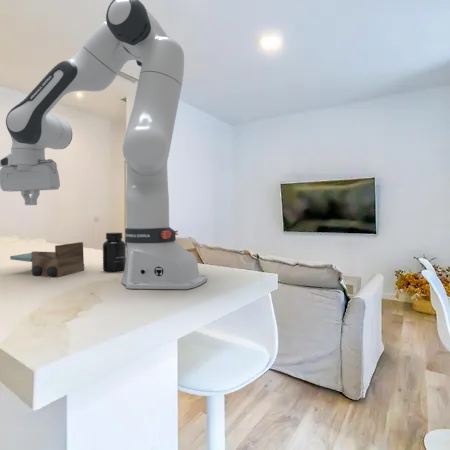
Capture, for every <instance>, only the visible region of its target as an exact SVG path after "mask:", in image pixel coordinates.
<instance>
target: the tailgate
mask: <svg viewBox="0 0 450 450" xmlns="http://www.w3.org/2000/svg"><path fill="white" fill-rule="evenodd" d="M9 259H10V260H11V261H12V260H13V261H21V262H28V263H29V262H30V263H32V252H29V253H24V254H16V255H15V254H14V255H10V257H9Z"/></svg>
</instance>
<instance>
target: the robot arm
mask: <svg viewBox="0 0 450 450" xmlns="http://www.w3.org/2000/svg"><path fill="white" fill-rule="evenodd" d="M129 61H136V64H137V66H139V67H140V72H139V74H138V75H139V77H138V81H137V87H136V91H135V97H134V100H133V107H132V110H131V112H130V115H129V119H128V123H127V127H126V129H125V130H126V132H125V135H124V139H123V144H122V153H123V157H124V160H125V162H126V192H125V208H126V209H125V213H126V215H125V216H126V219H125V220H126V221H125V222H126V228H125V229H124V242H125V244H126V261H125V269H124V271H123V273H122V278H121V281H120V282H121V284H122V285H125V287H126V289H135V290H138V289H139V290H144V289H145V290H146V289H147V290H189V289H194V288H196V287H199V286H201V285H203V284H204V283H206V281H207V280H208V276H207V274H205V273H200V271H199V264H198V259H197V258H196V256H195V255H194V254H192V253H191V252H190V251H189V250H187V249H186V248H185V247H183V246H182V244H180V243H179V242H178V241H176V236H178V235H179V231H178V230H174V229H173V228H172V227H170V207H169V206H170V201H169V199H170V198H169V196H170V195H169V181H168V178H169V177H168V160H169V159H168V158H169V156H170V150H171V145H172V139H173V134H174V130H175V129H174V128H175V125H176V124H175V123H176V117H177V113H178V109H179V108H178V107H179V102H180V97H181V92H182V86H183V81H184V73H185V72H184V69H185V52H184V50H183V48H182V46H181V45H180V44H179V42H177V41H176V40H175V39H173V38H170V36H168V35H167V33H166V32H165V30H164V29H163V27H162V25H161V24H160V23H159V21H158V20H157V19H156V17H154V15H153V14H152V13H151V12H150V11H149V10H148V9H147V8H146V7H145V5H144V4H143V2H141V1H140V0H112V1H111V2H110V4H109V5H108V7H107V10H106V14H105V21H102V22H101V23H100V24H99V26H98V27H97V28H95V30H93V32H91V34H90V35H89V36H88V38H87V39H86V40H85V41H84V43H83V44H82V46H81V47H80V49H79V50H78V51H77V52H76V53H75V54H74V55H73V56H72V57H70V58H69V59H67V60H63V61H61V62H58V63H57V64H55V66H53V67H52V68H51V70H50V71H49V72H48V73H46V75H45V76H44V77H43V78H42V79H41V80H40V81H39V82H38V84H37V85H36V86H35V87H34V88H33V89H32V91H31V92H29V93H28V95H27V96H26V97H25V98H24V99H23V100H22V101H20V102H19V103H17V104H16V105H15V106H14V107H12V108H11V109H10V110H9V112H7V114H6V117H5V118H6V119H5V127H6V130H7V132H8V133H9V135H10V138H11V141H12V143H11V147H10V148H11V149H10V152H11V153H9V154H8V155H6V156H4V157H2V158H1V159H0V189H1V190H2V191H3V192H11V193H12V192H20V195H21V197H22V198H23V200H24V205H25V206H37V205H38V198H39V196H40V192H41V191H54V190H55V191H56V190H59V189H60V186H61V183H60V182H61V181H60V176H59V170H58V164H57V163H56V161H54V160H53V159H51V158H48V159H46V156H45V155H46V152H45V151H46V149H47V148H48V149H52V150H63V149H66V148H67V147H68V146H69V145H70V144H71V142H72V140H73V130H72V127H71V125H70V123H68V122H67V121H66V120H64V119H62V118H60V117H57V116H54V115H51V114H49V113H50V112H51V111H52V109H53V108H55V106H56V105H57V104H58V103H59V101H61V100H62V98H63V97H64V96H66V95H68V94H70V93H72V92H80V91H81V92H83V91H85V92H101V91H105V90H106V89H107V88H108V87H110V85H111V84H112V83H113V82H114V81H115V79H116V78H117V76H118V74H119V73H120V72H121V71H122V68H124V66H125V65H126V63H128V62H129ZM30 195H31V196H30Z"/></svg>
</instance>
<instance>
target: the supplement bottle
mask: <svg viewBox="0 0 450 450" xmlns="http://www.w3.org/2000/svg"><path fill="white" fill-rule="evenodd" d="M105 239H106V241H104V242H103V243H102V270H103V272H105V273H121V272H124V269H125V261H126V249H127V248H126V244H125V240H122V239H123V232H106V233H105Z"/></svg>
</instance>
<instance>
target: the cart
mask: <svg viewBox="0 0 450 450" xmlns="http://www.w3.org/2000/svg"><path fill="white" fill-rule="evenodd" d="M31 253H32V262H31V274H32V276H34V277H50V278H60V277H64V276H68V275H71V274H76V273H80V272H83V271H84V270H85V262H84V261H85V260H84V258H85V257H84V242H83V241H79V242H73V243H65V244H57V245H54V251H36V250H35V251H31Z"/></svg>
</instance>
